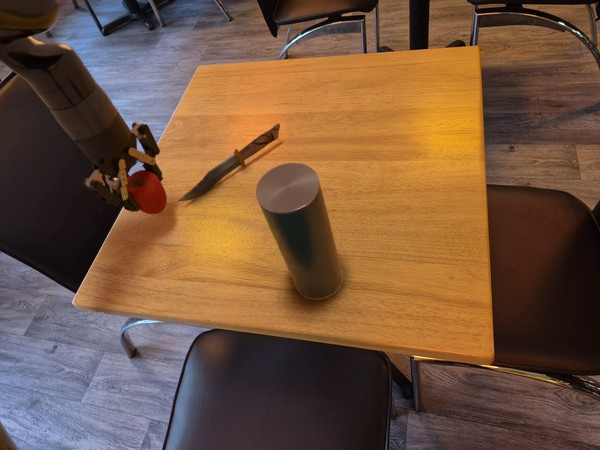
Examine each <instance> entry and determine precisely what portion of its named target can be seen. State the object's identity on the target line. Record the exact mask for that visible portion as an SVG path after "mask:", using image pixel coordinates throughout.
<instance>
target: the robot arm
mask: <svg viewBox="0 0 600 450" xmlns="http://www.w3.org/2000/svg"><path fill="white" fill-rule="evenodd" d="M60 9H61V8H60V3H59V0H0V62H1V63H2V64H3V65H5V66H6V67H7V68H8V69H9V70H11V71H12V72H13V73H15V74H16V75H18V76H19V77H20V78H22V79H23V80H24V81H26V82H27V83H28V85H29V86H30V88H31V89H33V90H34V92H35V93H36V94H37V95H38V97H39V98H40V99H41V101H42V102H43V103H44V104H45V106H47V108H48V109H49V110H50V112H51V114H52V116H53V118H54V119H55V120H56V121H57V123H58V124H59V126H60V127H61V128H62V129H63V130H64V132H65V133H66V134H67V135H68V136H69V138H70V139H71V141H73V142H74V144H75V145H76V146H77V148H78V149H79V150H80V151H81V152H82V153H83V155H84V156H85V157H86V158H87V159H88V160H89V161H90V162H91V164H92V168H93V170H94V171H93V172H92V173H91V175H90V176H89V177H84V178H83V179H82V181H81V185H82V186H83V187H84V188H85V189H87V190H88V191H89V192H91V193H92V194H93V195H94V196H95V197H96V198H97V199H98V200H99V201H100V202H102V203H104V204H108V205H110V206H114V207H118V206H119V204H120V205H121V206H122V207H123V209H124V210H125V211H127V212H132V213H138V212H139V211H141V210H140V207H139V206H138V204H137V203H136V202H135V201H134V199H133V198H132V197H131V196H130V195H128V192H127V187H126V185H128V181H127V178H128V175H129V173H130V171H131V169H132V168H133V167H135V166H136V165H137V163H138V162H139V163H141V164H142V168H143V170H148V171H150V172H152V173H154V174H155V175H156V176H157V177H158V179H159V180H160V182H161V183H162V181H163V180H164V177H163V172H162V170H161V169H160V167H159V165H158V164H157V163H156V161H157V160H156V158H157V157H156V156H159V155H160V153H161V149H160V148H159V145H158V143H157V141H156V138H155V136H154V135H153V133H152V131H151V129H150V126H149V125H148V124H147V123H142V122H136V121H134V122H132V124H131V128H130V127H129V126H128V124H127V122H126V120H124V118H123V116H122V115H121V114H120V112H119V110H118V109H117V108H116V106H115V104H114V103H113V102H112V100H111V98H110V97H109V95H108V94H107V93H106V91H105V90H104V89H103V88H102V87H101V85H99V84H98V82H97V81H96V80H95V78H94V76H93V75H92V73H91V72H90V71H89V69H88V68H87V66H86V65H85V63H84V62H83V60H82V59H81V58H80V56H79V55H78V53H77V52H76V51H75V49H74V48H73V47H72V46H70V45H68V44H65V43H62V42H47V41H41V40H37V39H35V38H34V36H38V35H41V34H45V33H47V32H48V31H51V30H52V29H53V28H54V27H55V26H56V24H57V23H58V20H59V17H60V12H61V11H60ZM137 140H138V141H137ZM138 142H139V144H140V146H141V148H142V149H143V151H144V152H142V151H140V150H138ZM103 175H104V177H105V181H106V182H105V181H104V180H103ZM106 183H107V185H108V186H109V189H108V188H107V187H106ZM18 447H19V446H17V444H16V443H15V442H14V440H13V438H12V437H11V435H10V433H9V432H8V430H7V429H6V427H5V426H4V424H3V423H2V421H1V420H0V450H20V449H19V448H18Z"/></svg>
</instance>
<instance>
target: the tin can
mask: <svg viewBox="0 0 600 450" xmlns="http://www.w3.org/2000/svg"><path fill="white" fill-rule="evenodd" d="M255 196H256V200H257V202H258V204H259V206H260V209H261V211H262V213H263V214H262V215H264V218H265V220H266V223H267V225H268V227H269V230H270V232H271V233H272V236H273V238H274V241H275V243H276V245H277V247H278V250H279V252H280V254H281V256H282V259H283V262H284V263H285V265H286V268H287V270H288V272H289V274H290V277H291V279H292V281H293V284H294V286H295V289H296V291H297V292H298V293H299V294H300V295H301V296H302V297H303V298H305V299H308V300H312V301H321V300H326V299H328V298H330V297H332V296H334V295H335V294H336V293H337V292H338V291H339V290H340V288H341V286H342V285H343V281H344V272H343V268H342V265H341V262H340V257H339V254H338V250H337V245H336V241H335V238H334V235H333V230H332V225H331V222H330V218H329V214H328V210H327V205H326V201H325V199H324V194H323V190H322V185H321V182H320V177H319V175H318V173H317V172H316V171H315V170H314V169H313V168H312V167H311V166H309V165H307V164H304V163H301V162H300V163H299V162H287V163H282V164H279V165H276V166H274V167H272V168H271V169H269V170H267V172H265V173H264V174H263V175H262V176H261V177H260V179H259V181H258V182H257V185H256V188H255Z"/></svg>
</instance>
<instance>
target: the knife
mask: <svg viewBox="0 0 600 450" xmlns="http://www.w3.org/2000/svg"><path fill="white" fill-rule="evenodd" d="M280 128H281V124H280V123H276V124H275V125H274V126H273V127H271V128H270V129H269V130H267V131H265V132H263V133H262V134H260V135H258V136H257V137H256V138H255V139H253V140H252V141H250V142H249V143H248V144H247V145H245V146H244V147H243V148H241V150H239V149H238V148H235V149H234V151H233V154H232V155H231V156H229V157H228V158H226V159H225V160H223V161H222V162H220V163H219V164H217V165H216V166H215V167H213V168H212V169H210V170H209V171H207V173H206V174H205V175H204V176H203V177H202V179H201V180H200V181H199V182H198V183H197V184H196V185H195V186H194V187H192V188H191V189H190V190H188V192H186V193H185V194H183V195H182V196H181V197H179V198H178V199H177V200H176V201H175V202H176V203H177V202H178V203H179V202H187V201H192V200H195V199H197V198H200V197H202V196H205V194H207V193H208V192H210V191H211V190H212V189H213V188H214V187H215V186H216V185H217V184H218V183H219V182H220V181H222V179H224V178H225V177H226V176H227V175H229V174H230V173H232V172H233V171H235V170H236V169H237V168H239V167H240V166H241V167H243V168H244V167H246V164H245V163H246V160H248V159H249V158H251V157H252V156H254V155H256V154H257V153H259V152H260V151H262V150H263V149H264V148H266V147H267V146H268V145H270V144H271V143H272V142H275V141H277V140H278V139H279V134H280Z"/></svg>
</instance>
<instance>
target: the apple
mask: <svg viewBox="0 0 600 450" xmlns="http://www.w3.org/2000/svg"><path fill="white" fill-rule="evenodd" d="M127 181H128V185H126V187H127V192H128V195H130V196H131V197H132V198H133V199H134V201H135V202H136V203H137V204H138V206H139V207H140V210H139V211H141V212H143V213H145V214H147V215H159V214H161V213H162V212H164V210H165V209H166V207H167V204H168V197H167V192H166V190H165V187H164V184H163V183H162V181H161V182H160V180H159V179H158V177H157V176H156V175H155V174H154V173H152V172H150V171H148V170H145V169H139V170H137V171H135V172H133V173H131V174H130V175H129V176H127Z"/></svg>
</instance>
